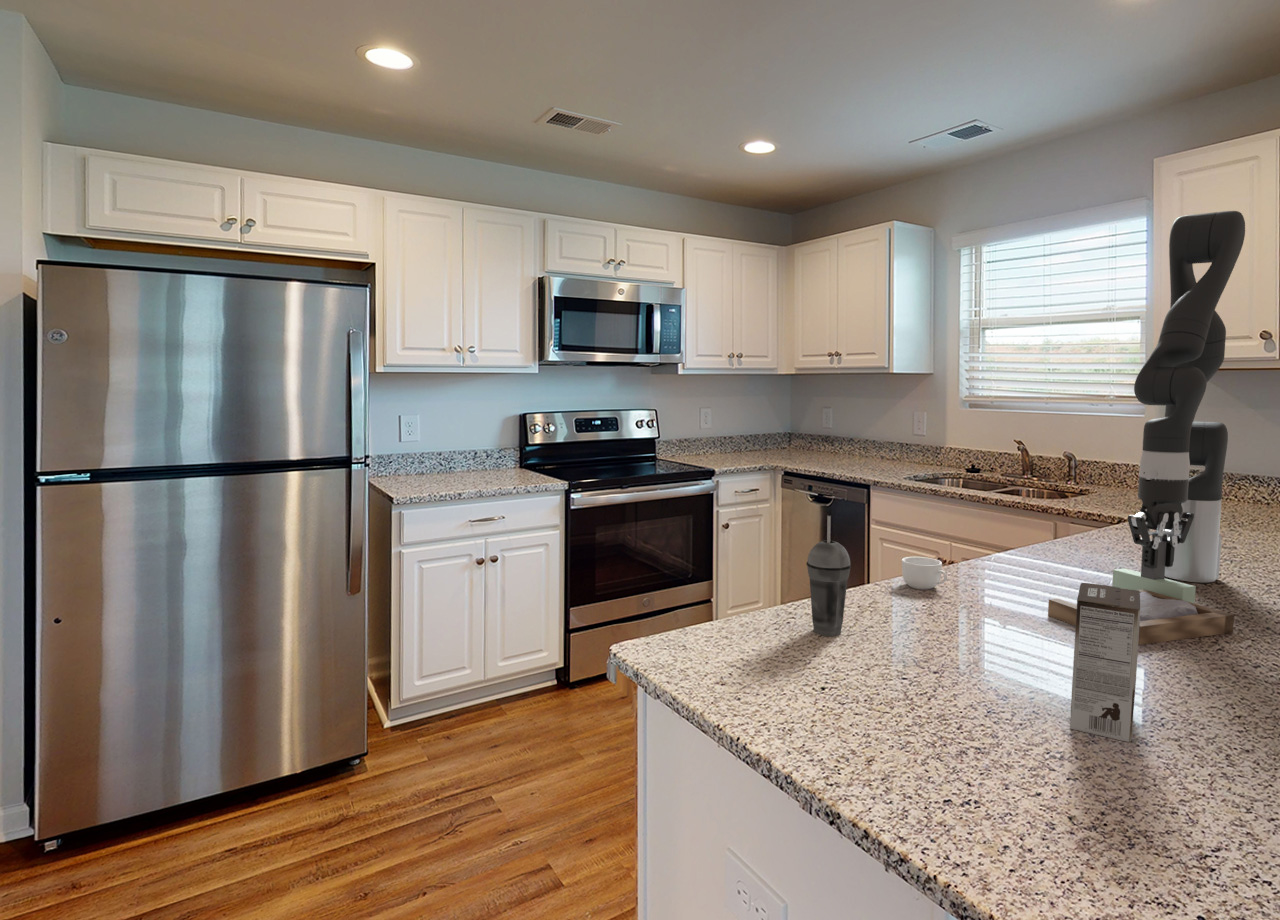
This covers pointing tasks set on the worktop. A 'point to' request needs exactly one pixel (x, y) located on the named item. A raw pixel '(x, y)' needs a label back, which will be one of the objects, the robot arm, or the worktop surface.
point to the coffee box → (1105, 661)
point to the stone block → (1163, 608)
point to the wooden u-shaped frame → (1161, 621)
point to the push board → (1154, 579)
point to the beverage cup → (828, 584)
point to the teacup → (922, 572)
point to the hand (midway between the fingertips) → (1157, 566)
